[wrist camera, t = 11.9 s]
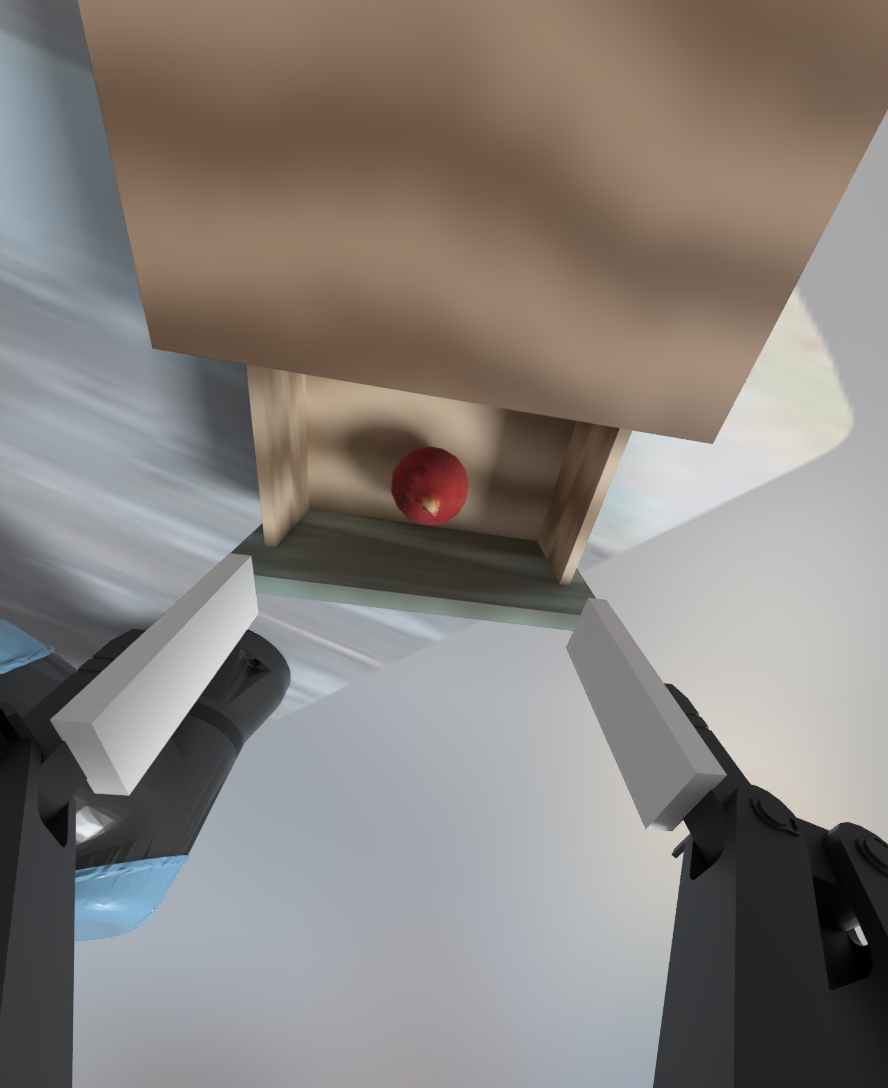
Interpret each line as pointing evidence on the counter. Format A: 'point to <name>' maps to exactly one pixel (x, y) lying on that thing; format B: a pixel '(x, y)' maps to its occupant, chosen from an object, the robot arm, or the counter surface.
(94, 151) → the counter surface
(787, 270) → the cabinet
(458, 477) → the onion
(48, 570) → the counter surface
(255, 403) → the drawer
